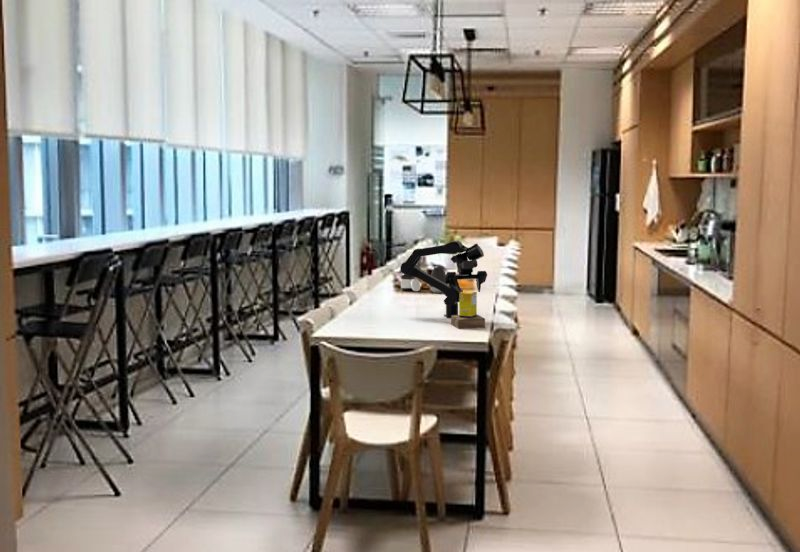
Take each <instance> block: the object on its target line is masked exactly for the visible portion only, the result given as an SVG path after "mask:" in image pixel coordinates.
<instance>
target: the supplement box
mask: <svg viewBox="0 0 800 552" xmlns="http://www.w3.org/2000/svg"><path fill="white" fill-rule="evenodd" d="M477 292H478V291H471V290H470V291H469V290H468V291H467V290H463V292H461V293H459V303H458V315H459V317H463V318H472V317H475V316H477V315H478V312H477V306H478V304H477V303H478V302H477V300H478V298H477V297H478V296H477V295H478V293H477Z"/></svg>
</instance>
